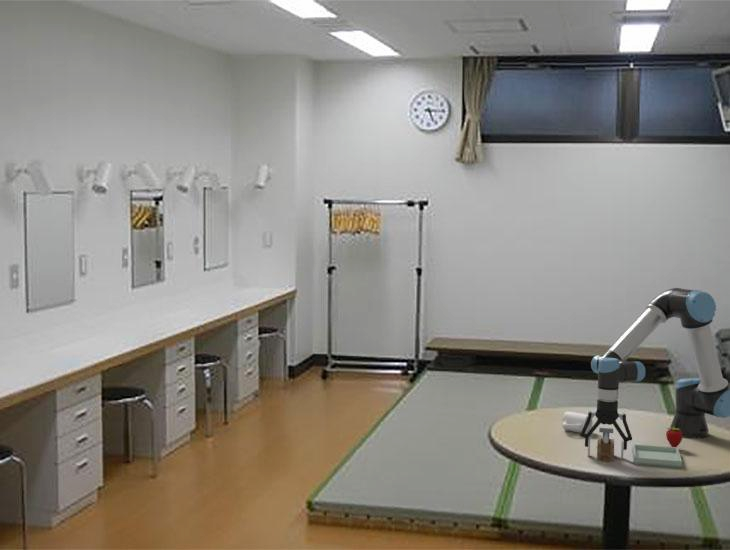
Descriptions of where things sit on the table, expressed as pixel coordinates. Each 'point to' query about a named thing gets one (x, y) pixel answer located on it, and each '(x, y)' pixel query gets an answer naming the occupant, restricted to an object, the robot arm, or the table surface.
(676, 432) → the strawberry
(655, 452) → the tray
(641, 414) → the table surface
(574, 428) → the mug
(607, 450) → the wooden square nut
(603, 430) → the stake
